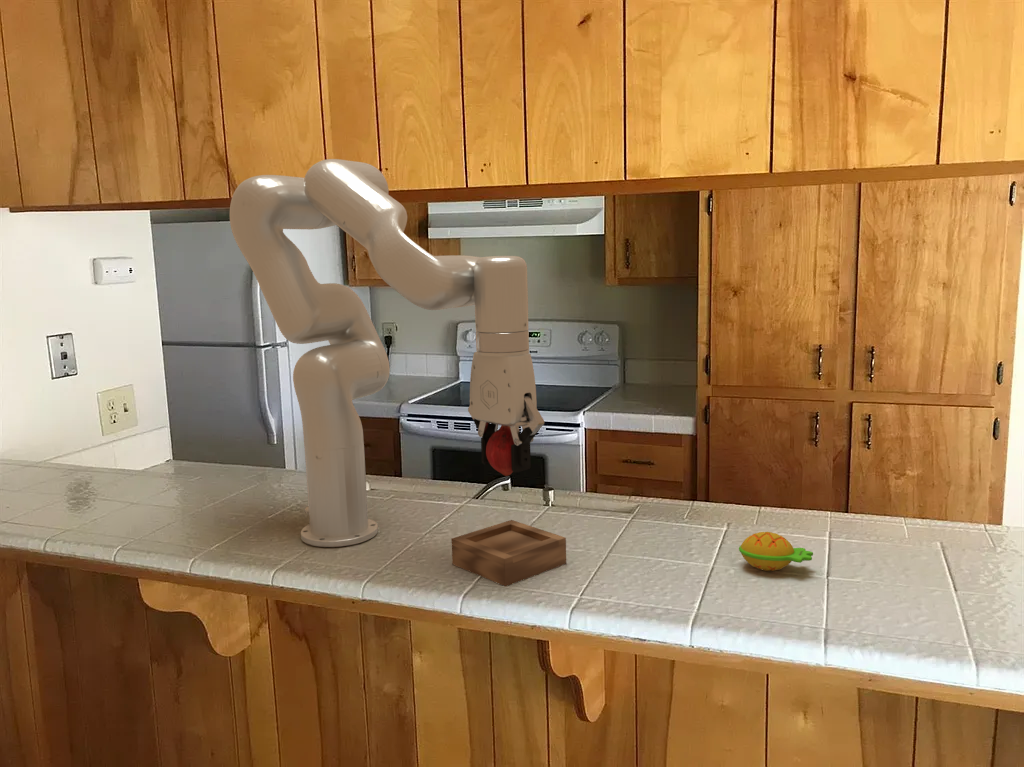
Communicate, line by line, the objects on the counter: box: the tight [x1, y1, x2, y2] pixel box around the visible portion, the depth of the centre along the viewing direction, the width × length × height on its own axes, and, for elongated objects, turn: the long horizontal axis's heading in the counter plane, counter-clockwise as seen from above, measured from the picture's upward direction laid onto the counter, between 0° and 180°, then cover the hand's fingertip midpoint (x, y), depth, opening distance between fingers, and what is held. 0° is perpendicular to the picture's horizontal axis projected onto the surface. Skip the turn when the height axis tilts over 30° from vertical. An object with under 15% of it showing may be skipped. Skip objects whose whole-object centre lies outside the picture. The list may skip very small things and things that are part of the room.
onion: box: [486, 425, 515, 477], centre depth 123 cm, size 6×6×8 cm
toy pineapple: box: [738, 531, 814, 572], centre depth 120 cm, size 7×10×5 cm
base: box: [450, 519, 567, 587], centre depth 125 cm, size 12×12×4 cm
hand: (505, 465), depth 123 cm, fingers closed on onion, 5 cm apart
